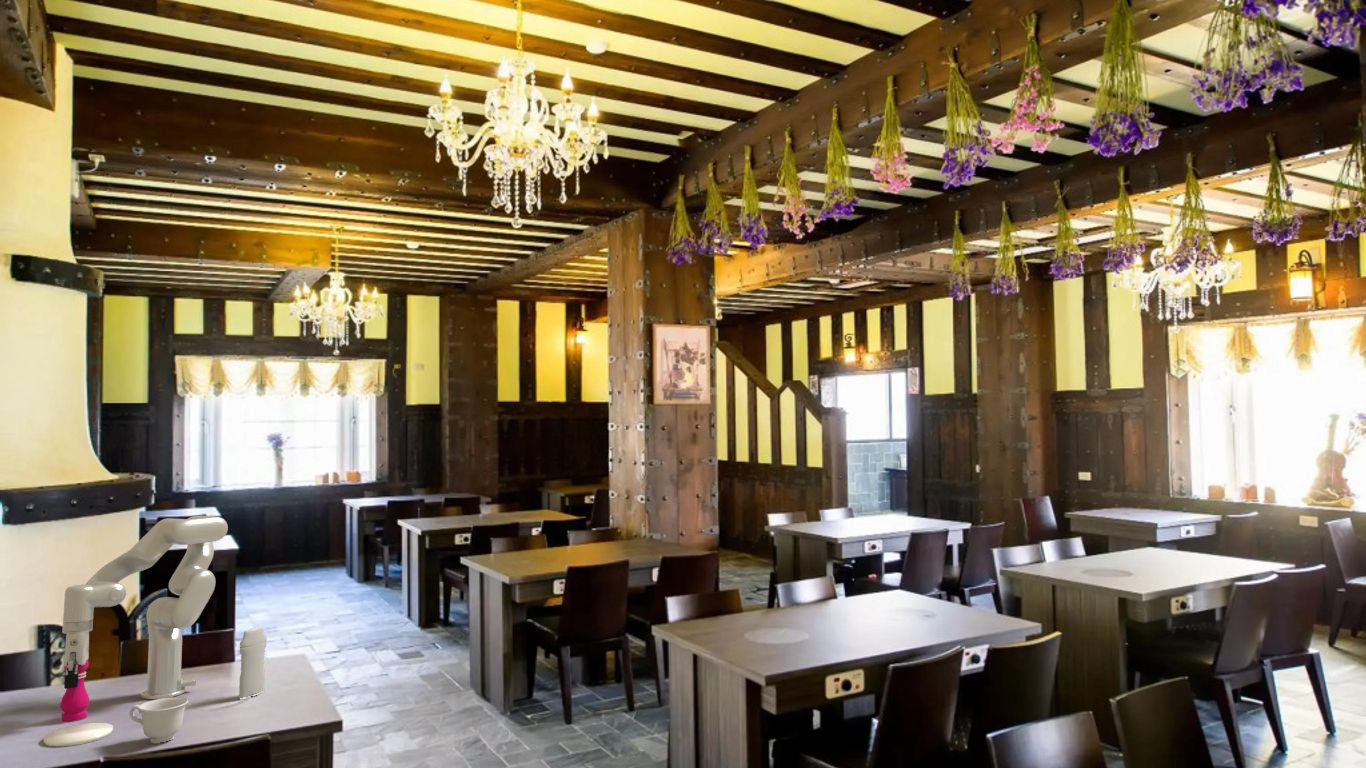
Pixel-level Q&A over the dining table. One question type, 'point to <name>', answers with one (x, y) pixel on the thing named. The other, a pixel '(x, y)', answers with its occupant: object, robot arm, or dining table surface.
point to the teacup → (161, 717)
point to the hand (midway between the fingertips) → (73, 684)
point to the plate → (78, 734)
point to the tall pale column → (252, 662)
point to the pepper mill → (75, 698)
